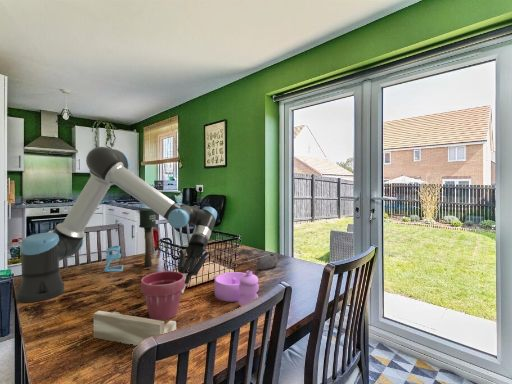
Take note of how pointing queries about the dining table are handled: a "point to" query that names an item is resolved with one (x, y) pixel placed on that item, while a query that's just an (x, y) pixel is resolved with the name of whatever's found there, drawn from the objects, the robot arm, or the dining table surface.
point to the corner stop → (128, 327)
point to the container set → (236, 287)
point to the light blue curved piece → (113, 257)
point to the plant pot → (162, 293)
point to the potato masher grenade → (147, 231)
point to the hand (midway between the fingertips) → (180, 291)
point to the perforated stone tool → (268, 261)
